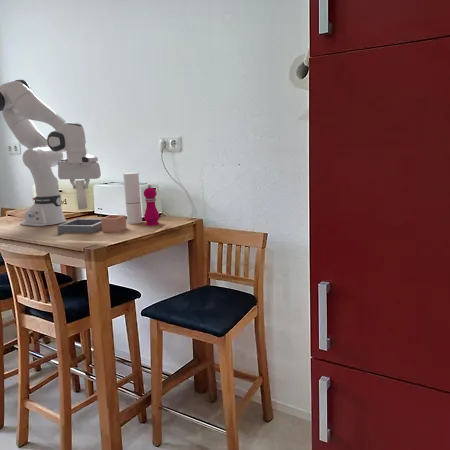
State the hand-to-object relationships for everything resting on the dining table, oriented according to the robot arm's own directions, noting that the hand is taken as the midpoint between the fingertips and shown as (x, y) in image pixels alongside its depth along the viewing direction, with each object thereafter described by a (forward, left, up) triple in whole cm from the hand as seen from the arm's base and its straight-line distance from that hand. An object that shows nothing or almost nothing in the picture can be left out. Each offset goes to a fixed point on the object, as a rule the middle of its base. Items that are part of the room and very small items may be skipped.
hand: (80, 188), depth 218 cm
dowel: (0, 0, -9) cm, 9 cm away
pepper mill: (+29, +12, -20) cm, 37 cm away
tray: (0, 0, -20) cm, 20 cm away
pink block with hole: (+16, -1, -20) cm, 25 cm away
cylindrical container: (+18, +16, -20) cm, 31 cm away
